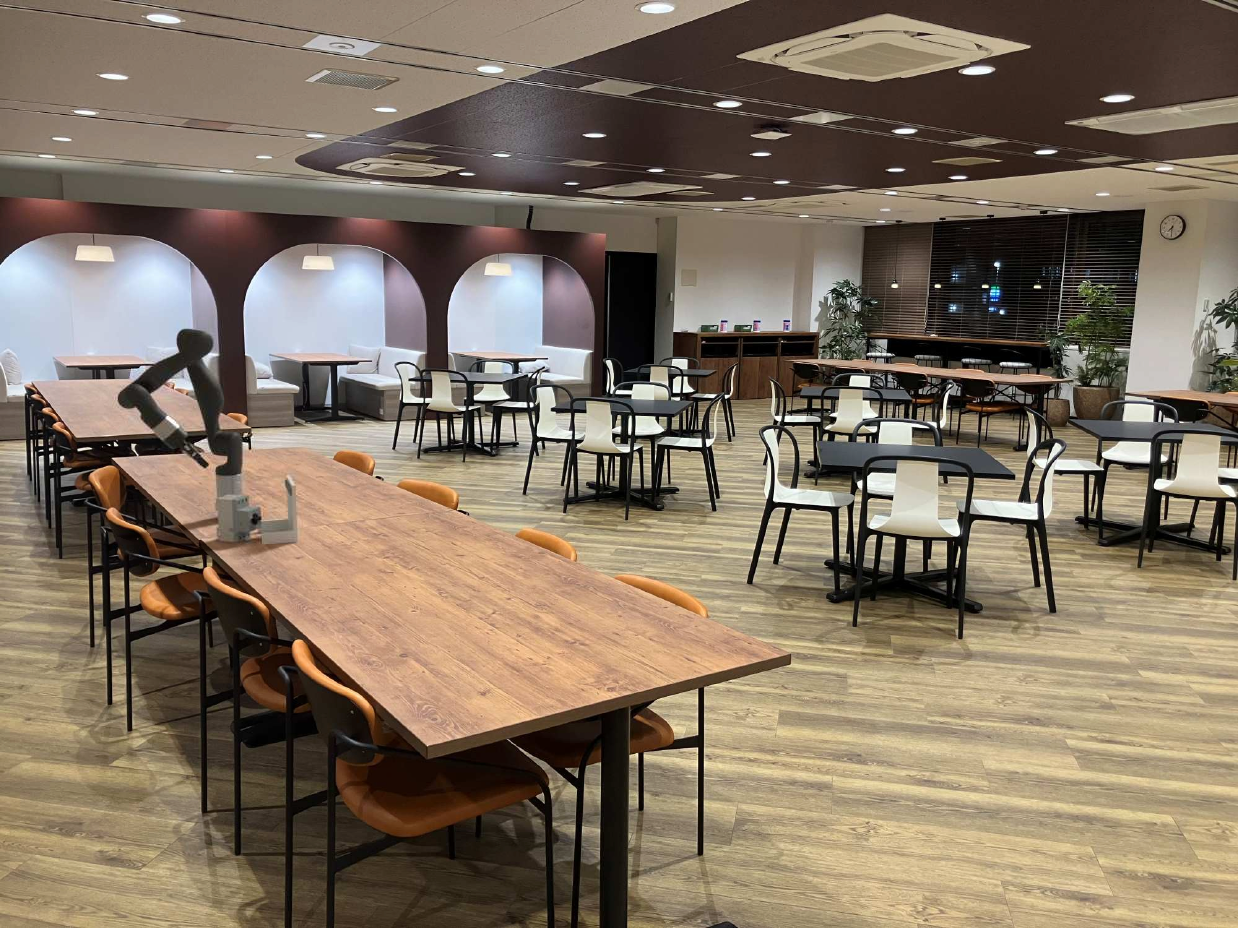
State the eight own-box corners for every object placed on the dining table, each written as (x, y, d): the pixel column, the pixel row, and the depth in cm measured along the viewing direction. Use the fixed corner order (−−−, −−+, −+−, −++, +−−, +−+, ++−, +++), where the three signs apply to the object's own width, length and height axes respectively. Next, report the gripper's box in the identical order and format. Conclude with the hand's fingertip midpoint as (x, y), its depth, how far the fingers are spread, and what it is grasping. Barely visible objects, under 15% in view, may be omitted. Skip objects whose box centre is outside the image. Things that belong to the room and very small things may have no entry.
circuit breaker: (254, 543, 339) (252, 500, 337) (217, 540, 342) (214, 498, 340) (266, 538, 347) (264, 496, 344) (229, 535, 349) (227, 494, 347)
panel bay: (257, 531, 356) (255, 477, 352) (291, 529, 360) (289, 475, 357) (262, 544, 338) (259, 487, 334) (297, 541, 342) (295, 485, 339)
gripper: (180, 425, 330) (216, 459, 336) (176, 423, 342) (211, 456, 349) (163, 441, 328) (199, 475, 334) (159, 438, 340) (194, 470, 347)
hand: (205, 465), depth 341 cm, fingers open, 8 cm apart
